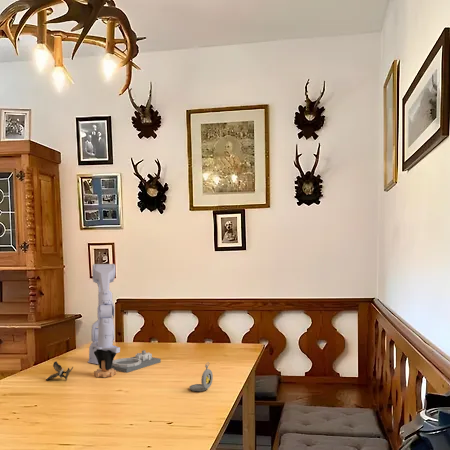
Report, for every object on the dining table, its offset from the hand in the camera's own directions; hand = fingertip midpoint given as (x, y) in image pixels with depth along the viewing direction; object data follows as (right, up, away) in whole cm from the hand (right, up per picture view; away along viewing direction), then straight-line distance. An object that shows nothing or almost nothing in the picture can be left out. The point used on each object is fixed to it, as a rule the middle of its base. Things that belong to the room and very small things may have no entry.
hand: (105, 368), depth 184 cm
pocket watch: (+40, -2, -20) cm, 44 cm away
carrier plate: (+8, -3, +16) cm, 18 cm away
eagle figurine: (-17, -3, -6) cm, 18 cm away
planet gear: (0, -2, 0) cm, 2 cm away
